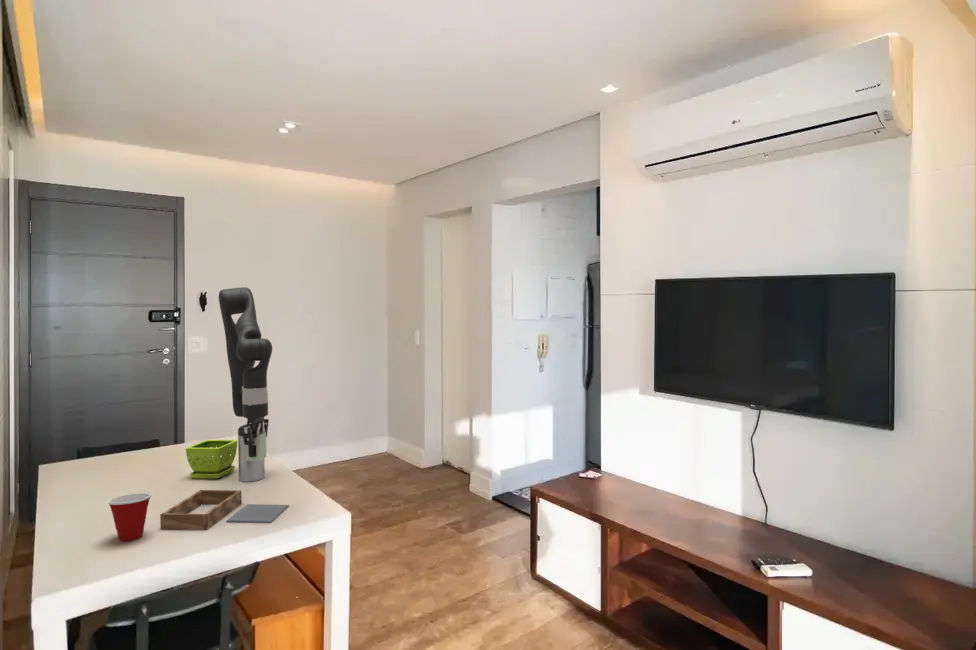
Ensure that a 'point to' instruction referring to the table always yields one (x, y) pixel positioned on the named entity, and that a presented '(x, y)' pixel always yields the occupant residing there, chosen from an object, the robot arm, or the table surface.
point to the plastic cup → (129, 515)
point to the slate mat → (258, 513)
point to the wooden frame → (184, 521)
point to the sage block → (258, 448)
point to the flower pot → (211, 458)
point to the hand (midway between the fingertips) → (256, 454)
